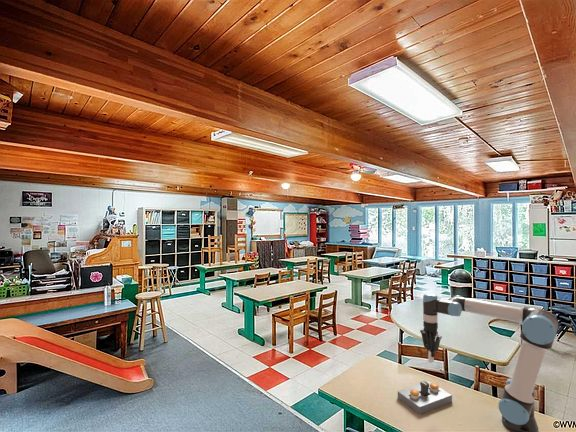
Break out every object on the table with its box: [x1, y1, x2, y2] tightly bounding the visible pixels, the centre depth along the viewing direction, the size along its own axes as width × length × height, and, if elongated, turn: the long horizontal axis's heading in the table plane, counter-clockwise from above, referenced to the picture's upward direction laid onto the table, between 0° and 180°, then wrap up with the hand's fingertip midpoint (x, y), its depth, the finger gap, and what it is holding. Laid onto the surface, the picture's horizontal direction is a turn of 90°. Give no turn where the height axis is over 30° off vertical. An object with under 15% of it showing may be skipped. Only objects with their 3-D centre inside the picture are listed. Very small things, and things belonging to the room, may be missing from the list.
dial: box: [419, 380, 429, 396], centre depth 178 cm, size 5×5×7 cm
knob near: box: [410, 389, 419, 400], centre depth 175 cm, size 5×5×7 cm
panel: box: [397, 380, 453, 415], centre depth 178 cm, size 16×26×4 cm, turn 115°
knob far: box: [430, 382, 440, 393], centre depth 182 cm, size 5×5×7 cm
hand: (431, 361), depth 175 cm, fingers closed
